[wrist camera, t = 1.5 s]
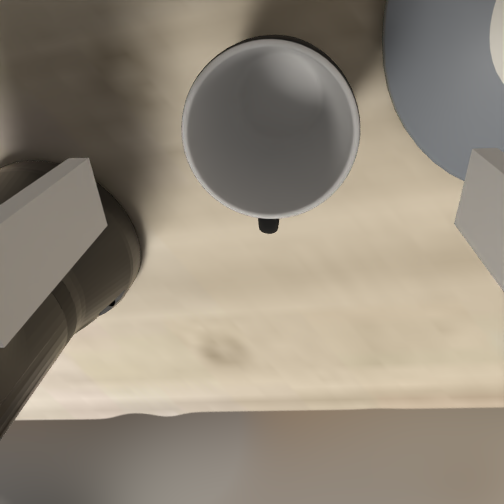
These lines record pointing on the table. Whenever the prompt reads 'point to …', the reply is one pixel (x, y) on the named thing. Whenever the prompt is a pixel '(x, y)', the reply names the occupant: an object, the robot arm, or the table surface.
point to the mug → (271, 128)
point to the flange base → (447, 75)
